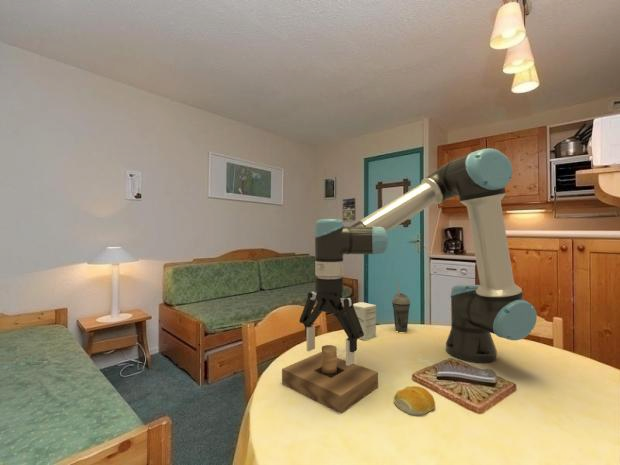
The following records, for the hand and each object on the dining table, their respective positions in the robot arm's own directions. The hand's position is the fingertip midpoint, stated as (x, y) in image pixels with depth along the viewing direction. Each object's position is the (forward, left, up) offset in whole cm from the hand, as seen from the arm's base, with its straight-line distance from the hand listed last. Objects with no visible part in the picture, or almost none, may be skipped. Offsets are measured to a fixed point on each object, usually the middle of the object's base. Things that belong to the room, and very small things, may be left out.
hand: (329, 356), depth 81 cm
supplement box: (+15, -39, -8) cm, 43 cm away
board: (0, 0, -8) cm, 8 cm away
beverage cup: (+7, -55, -8) cm, 56 cm away
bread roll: (-21, -6, -8) cm, 23 cm away
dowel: (0, 0, -8) cm, 8 cm away
